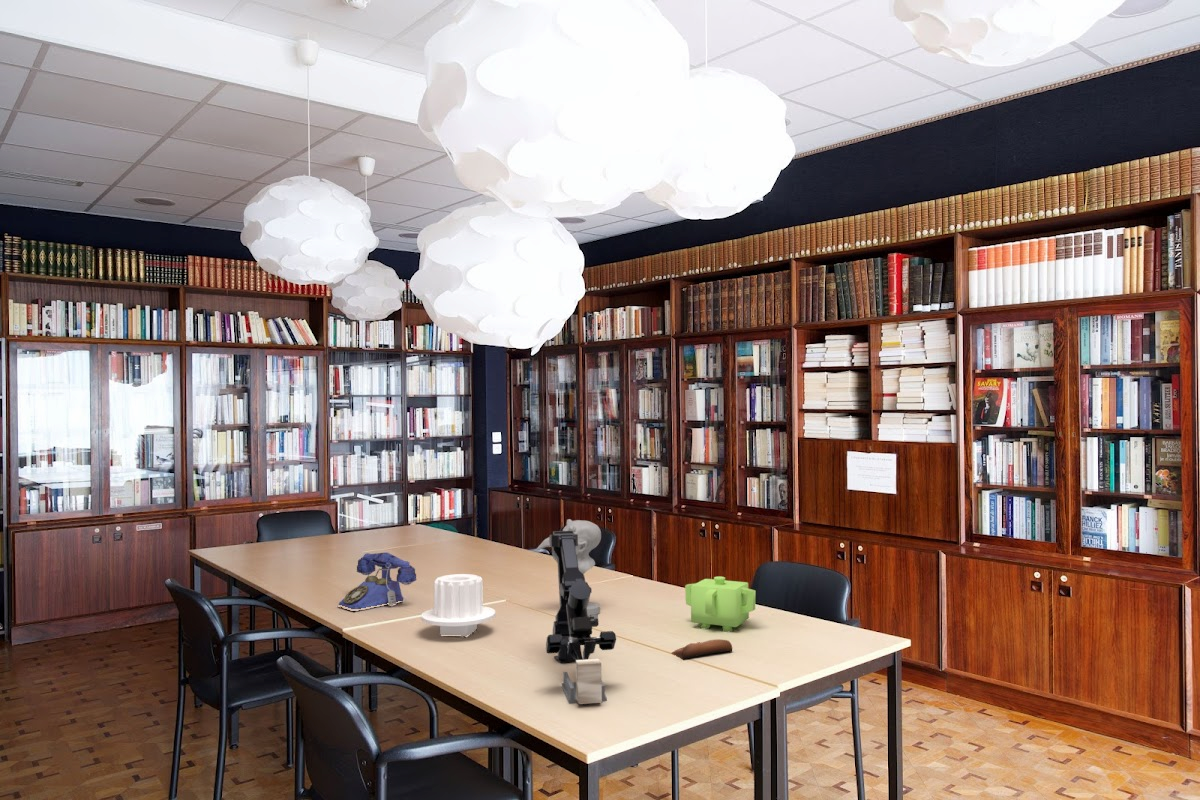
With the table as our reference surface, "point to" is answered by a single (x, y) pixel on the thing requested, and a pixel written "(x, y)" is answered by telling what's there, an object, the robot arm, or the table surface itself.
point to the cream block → (588, 681)
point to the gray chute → (571, 689)
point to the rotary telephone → (379, 581)
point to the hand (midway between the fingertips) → (584, 671)
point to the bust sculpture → (582, 549)
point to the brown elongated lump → (703, 648)
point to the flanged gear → (458, 605)
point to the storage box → (720, 602)
